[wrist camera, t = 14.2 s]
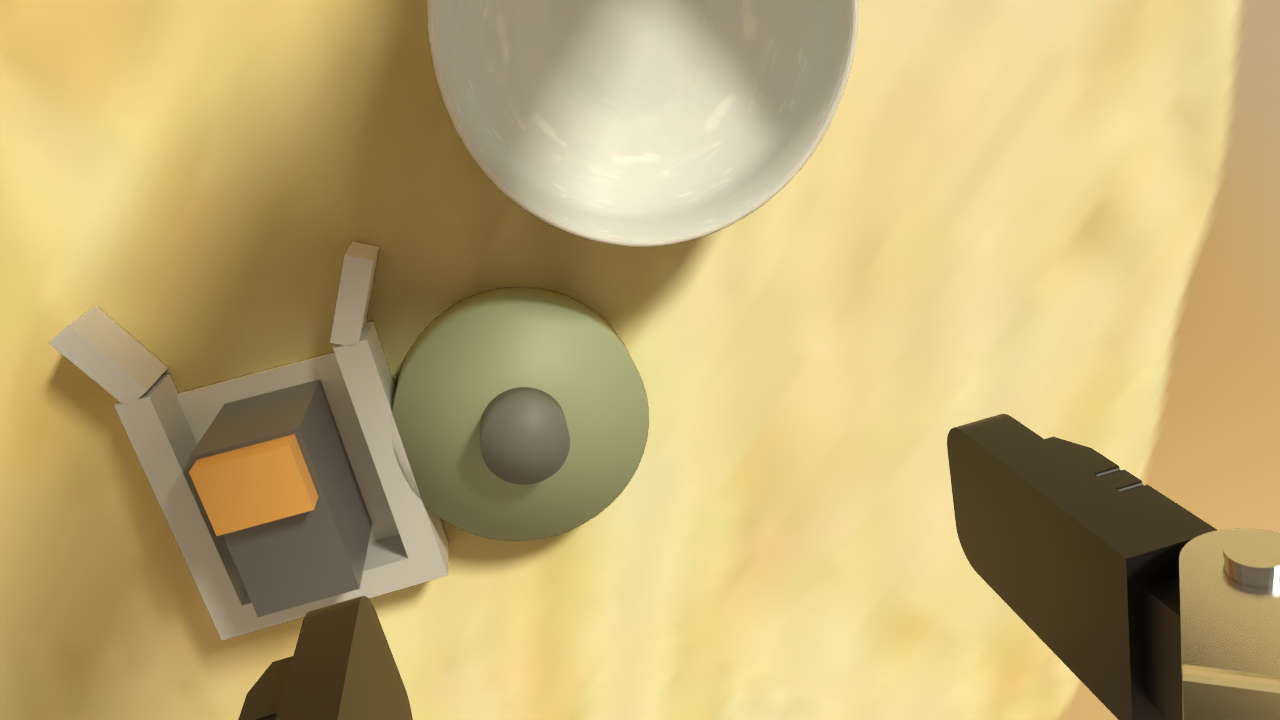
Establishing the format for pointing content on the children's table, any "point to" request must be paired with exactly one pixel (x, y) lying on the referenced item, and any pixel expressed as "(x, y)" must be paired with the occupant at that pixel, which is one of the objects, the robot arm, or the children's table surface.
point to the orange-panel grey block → (284, 497)
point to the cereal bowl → (641, 105)
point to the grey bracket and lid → (406, 429)
